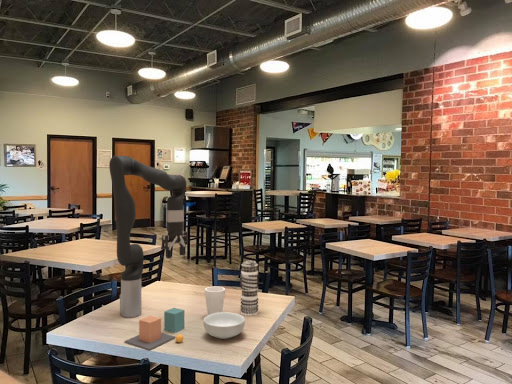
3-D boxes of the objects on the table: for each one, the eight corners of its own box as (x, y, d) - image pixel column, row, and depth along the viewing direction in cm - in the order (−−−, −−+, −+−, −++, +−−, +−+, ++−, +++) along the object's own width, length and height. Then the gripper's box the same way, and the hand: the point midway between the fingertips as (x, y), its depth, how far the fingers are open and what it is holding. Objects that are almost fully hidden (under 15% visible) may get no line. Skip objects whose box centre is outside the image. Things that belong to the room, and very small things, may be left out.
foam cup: (221, 320, 187) (221, 292, 186) (202, 319, 188) (202, 291, 188) (227, 313, 196) (227, 286, 195) (208, 312, 198) (208, 285, 197)
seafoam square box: (164, 330, 175) (164, 311, 175) (174, 325, 180) (174, 307, 180) (174, 332, 172) (174, 314, 172) (184, 328, 177) (184, 310, 177)
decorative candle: (261, 310, 201) (261, 259, 200) (256, 316, 192) (256, 263, 191) (243, 308, 203) (243, 258, 202) (237, 315, 194) (237, 262, 193)
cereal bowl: (210, 346, 159) (210, 328, 158) (198, 331, 174) (198, 315, 174) (251, 339, 165) (251, 322, 165) (236, 325, 181) (236, 309, 180)
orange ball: (174, 342, 162) (174, 335, 162) (179, 339, 165) (179, 332, 164) (179, 344, 160) (179, 336, 160) (184, 341, 163) (184, 334, 163)
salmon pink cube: (139, 339, 163) (139, 319, 163) (150, 334, 168) (150, 315, 168) (150, 343, 160) (149, 322, 160) (161, 337, 165) (161, 318, 165)
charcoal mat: (124, 342, 162) (124, 341, 162) (150, 331, 174) (150, 329, 174) (149, 350, 154) (149, 349, 154) (175, 338, 166) (175, 336, 166)
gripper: (179, 218, 188) (179, 253, 189) (157, 221, 176) (157, 258, 177) (192, 219, 185) (192, 255, 185) (170, 222, 172) (170, 260, 173)
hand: (175, 256), depth 181 cm, fingers open, 8 cm apart
